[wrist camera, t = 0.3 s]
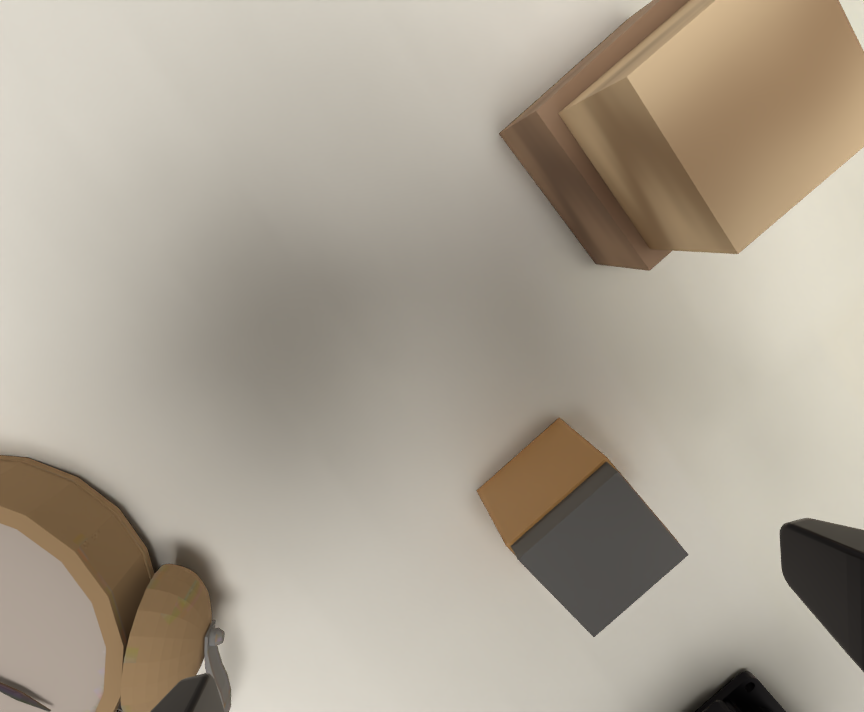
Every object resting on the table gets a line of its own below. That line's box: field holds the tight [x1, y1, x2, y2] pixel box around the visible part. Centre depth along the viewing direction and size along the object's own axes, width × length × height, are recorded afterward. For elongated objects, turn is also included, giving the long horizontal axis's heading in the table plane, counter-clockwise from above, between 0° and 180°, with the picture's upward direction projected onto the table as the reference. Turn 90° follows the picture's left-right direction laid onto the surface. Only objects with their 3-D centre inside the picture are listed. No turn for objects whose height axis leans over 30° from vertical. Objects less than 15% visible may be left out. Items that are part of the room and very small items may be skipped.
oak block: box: [558, 0, 864, 254], centre depth 15 cm, size 5×5×4 cm
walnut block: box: [499, 0, 689, 270], centre depth 19 cm, size 6×6×4 cm
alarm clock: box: [0, 455, 231, 712], centre depth 19 cm, size 11×5×15 cm
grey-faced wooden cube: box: [477, 418, 688, 637], centre depth 21 cm, size 4×4×5 cm
